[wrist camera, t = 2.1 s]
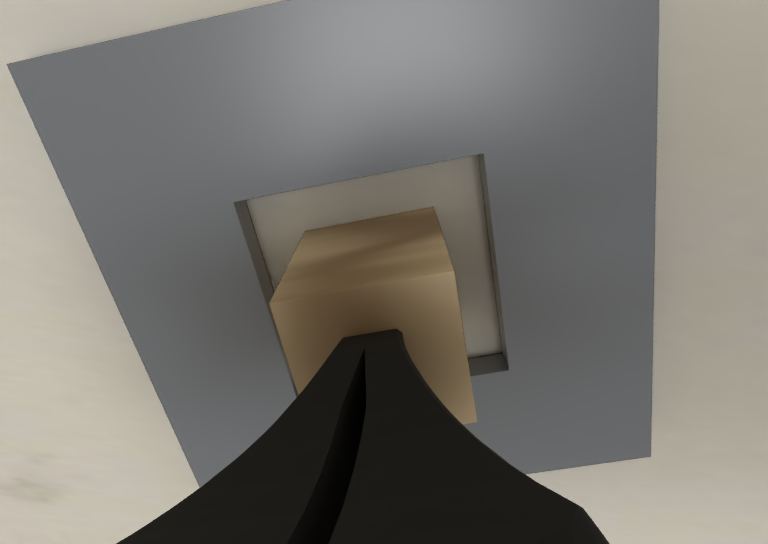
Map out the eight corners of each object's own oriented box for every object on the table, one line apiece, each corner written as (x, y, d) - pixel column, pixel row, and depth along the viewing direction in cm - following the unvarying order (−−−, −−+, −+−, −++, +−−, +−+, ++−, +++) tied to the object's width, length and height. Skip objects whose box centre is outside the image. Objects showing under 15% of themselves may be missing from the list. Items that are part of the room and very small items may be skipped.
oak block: (433, 206, 15) (454, 271, 10) (452, 321, 16) (477, 422, 12) (305, 230, 15) (269, 303, 11) (335, 340, 17) (315, 446, 12)
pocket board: (640, -74, 12) (661, -86, 11) (637, 436, 18) (650, 456, 17) (33, 63, 13) (6, 63, 12) (222, 496, 19) (213, 518, 18)
